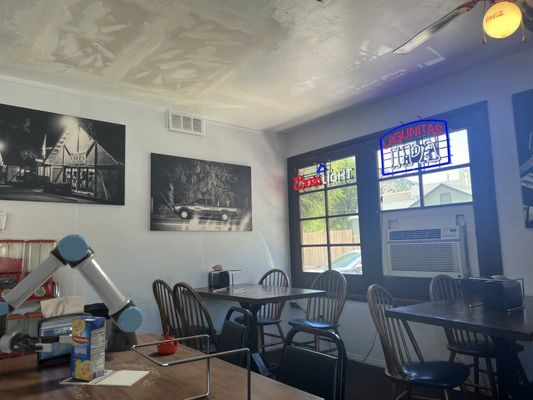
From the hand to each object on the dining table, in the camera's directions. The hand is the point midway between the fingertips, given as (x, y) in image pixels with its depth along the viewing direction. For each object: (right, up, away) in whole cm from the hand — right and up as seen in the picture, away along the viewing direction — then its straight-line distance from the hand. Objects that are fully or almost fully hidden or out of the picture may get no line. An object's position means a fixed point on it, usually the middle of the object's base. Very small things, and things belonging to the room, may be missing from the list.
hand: (63, 343), depth 157 cm
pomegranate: (+34, -16, +30) cm, 48 cm away
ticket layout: (+19, -12, -4) cm, 23 cm away
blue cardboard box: (+11, -12, -3) cm, 16 cm away
